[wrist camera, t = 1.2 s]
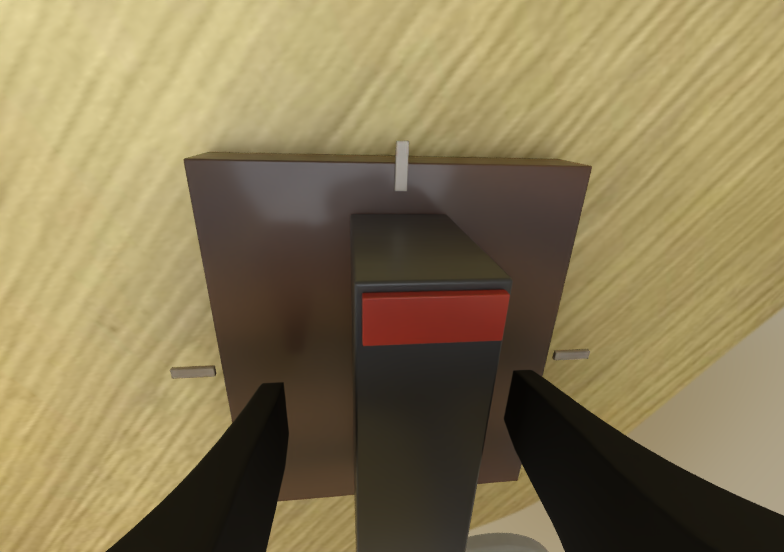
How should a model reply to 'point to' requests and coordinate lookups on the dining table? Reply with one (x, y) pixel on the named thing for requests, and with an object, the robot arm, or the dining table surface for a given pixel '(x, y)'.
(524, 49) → the dining table surface
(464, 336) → the gray bar
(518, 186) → the brown pegged board
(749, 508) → the robot arm
